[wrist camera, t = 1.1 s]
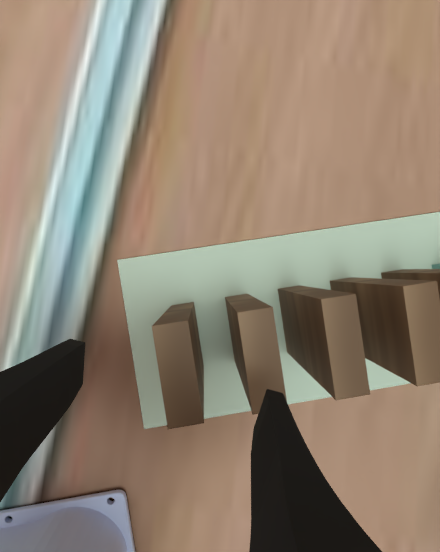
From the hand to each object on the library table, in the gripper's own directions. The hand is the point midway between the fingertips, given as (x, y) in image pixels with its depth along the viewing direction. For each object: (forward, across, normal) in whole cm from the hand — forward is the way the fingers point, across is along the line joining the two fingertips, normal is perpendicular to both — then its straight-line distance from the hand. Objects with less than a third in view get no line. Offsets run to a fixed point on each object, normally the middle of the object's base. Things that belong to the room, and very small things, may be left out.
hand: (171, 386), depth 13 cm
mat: (+13, -8, +1) cm, 15 cm away
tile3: (+12, -6, +2) cm, 13 cm away
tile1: (+10, +1, +4) cm, 11 cm away
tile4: (+12, -10, +1) cm, 16 cm away
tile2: (+11, -3, +3) cm, 12 cm away
